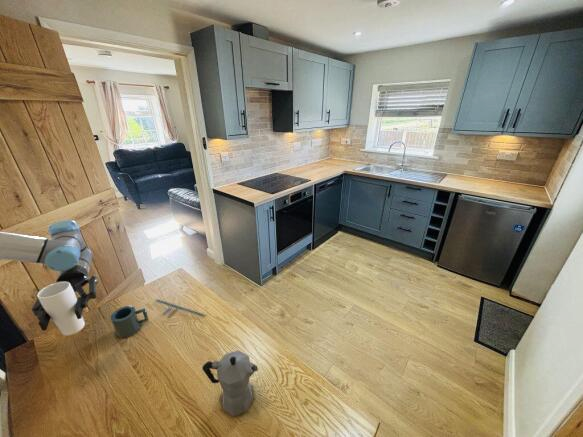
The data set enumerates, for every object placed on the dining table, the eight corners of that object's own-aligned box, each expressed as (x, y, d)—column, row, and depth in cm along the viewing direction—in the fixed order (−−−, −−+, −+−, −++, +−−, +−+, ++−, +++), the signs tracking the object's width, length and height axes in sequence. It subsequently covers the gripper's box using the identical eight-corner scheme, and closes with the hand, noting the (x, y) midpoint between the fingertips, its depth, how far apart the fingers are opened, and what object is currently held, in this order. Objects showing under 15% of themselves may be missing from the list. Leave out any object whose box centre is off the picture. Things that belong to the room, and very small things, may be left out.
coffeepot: (262, 384, 74) (260, 344, 67) (256, 420, 66) (253, 378, 58) (214, 380, 75) (207, 340, 68) (202, 415, 66) (192, 373, 59)
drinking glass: (94, 321, 73) (77, 282, 67) (73, 340, 67) (52, 299, 61) (74, 318, 74) (55, 280, 67) (52, 337, 67) (29, 296, 61)
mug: (117, 342, 87) (110, 324, 83) (117, 328, 92) (110, 310, 89) (150, 329, 92) (145, 312, 89) (148, 316, 98) (143, 299, 94)
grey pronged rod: (195, 323, 93) (203, 314, 98) (146, 307, 100) (156, 299, 105) (195, 326, 93) (204, 317, 98) (147, 309, 101) (157, 302, 105)
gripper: (111, 274, 87) (109, 315, 70) (39, 294, 77) (15, 348, 60) (105, 257, 84) (101, 296, 66) (29, 275, 74) (1, 326, 57)
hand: (60, 320), depth 63 cm, fingers closed on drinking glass, 6 cm apart
